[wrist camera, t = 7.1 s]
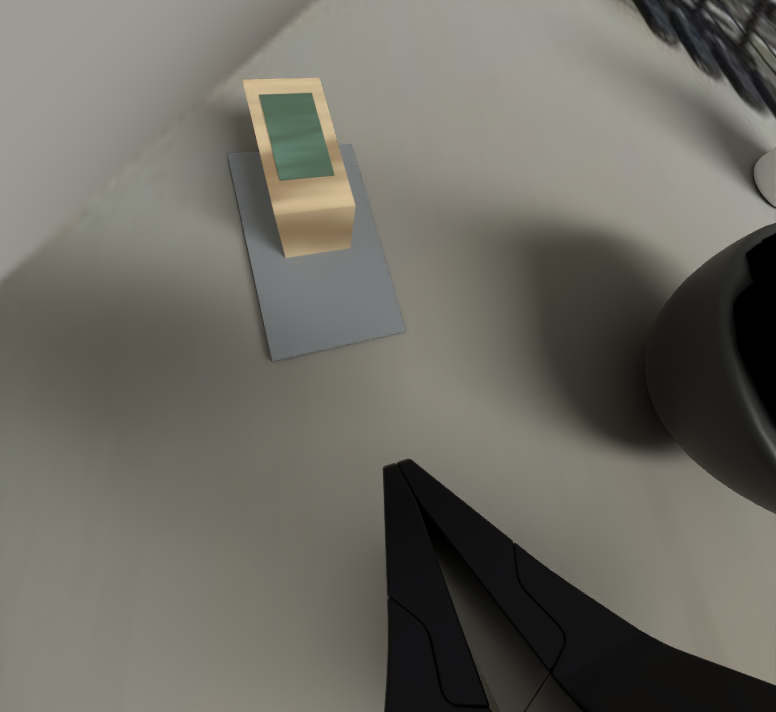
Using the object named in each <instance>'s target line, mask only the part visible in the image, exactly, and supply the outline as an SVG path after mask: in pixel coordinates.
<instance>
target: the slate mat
mask: <svg viewBox="0 0 776 712" xmlns="http://www.w3.org/2000/svg"><path fill="white" fill-rule="evenodd" d="M338 146H339V149H340V153H341V156H342V160H343V163H344V167H345V170H346V174H347V177H348V181H349V184H350V188H351V191H352V195H353V198H354V202H355V214H354V222H353V231H352V239H351V247H350V248H348V249H341V250H335V251H328V252H322V253H315V254H308V255H302V256H295V257H289V258H286V257H285V254H284V250H283V246H282V242H281V238H280V235H279V231H278V227H277V223H276V219H275V215H274V211H273V207H272V203H271V198H270V194H269V190H268V186H267V181H266V177H265V173H264V169H263V164H262V160H261V156H260V152H259V151H253V152H239V153H227V155H228V159H229V164H230V168H231V173H232V178H233V182H234V187H235V192H236V196H237V201H238V205H239V210H240V215H241V219H242V224H243V229H244V233H245V238H246V242H247V247H248V252H249V256H250V261H251V266H252V270H253V275H254V279H255V284H256V289H257V293H258V298H259V302H260V307H261V312H262V316H263V321H264V326H265V330H266V335H267V339H268V344H269V349H270V353H271V358H272V361H273V362H274V361H278V360H283V359H287V358H292V357H296V356H301V355H305V354H310V353H314V352H319V351H323V350H328V349H332V348H337V347H341V346H346V345H350V344H355V343H359V342H364V341H368V340H373V339H377V338H381V337H386V336H390V335H395V334H399V333H404V332H406V328H405V325H404V322H403V318H402V315H401V311H400V308H399V304H398V301H397V298H396V294H395V291H394V287H393V284H392V281H391V277H390V274H389V270H388V267H387V263H386V260H385V257H384V253H383V250H382V246H381V243H380V239H379V236H378V233H377V229H376V226H375V222H374V219H373V215H372V212H371V209H370V205H369V202H368V198H367V195H366V191H365V188H364V185H363V181H362V178H361V174H360V171H359V167H358V164H357V161H356V157H355V154H354V150H353V147H352V144H347V145H338Z"/></svg>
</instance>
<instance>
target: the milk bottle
mask: <svg viewBox="0 0 776 712" xmlns="http://www.w3.org/2000/svg"><path fill="white" fill-rule="evenodd" d="M754 178H755V182H756V185H757V187H758V189H759V190H760V192H761V193H762V195H763V196H764V197H765V198H766V199H767V201H769V202H770V203H771V204H772V205H773V206H775V207H776V148H774V149H773V150H771V151H770V152H768V153H767V154H765V155H763V156H762V157H761V158H760V159H759V160H758V161H757V162H756V164H755V166H754Z"/></svg>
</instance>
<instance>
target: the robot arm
mask: <svg viewBox="0 0 776 712" xmlns="http://www.w3.org/2000/svg"><path fill="white" fill-rule="evenodd" d="M383 490H384V519H385V549H386V578H387V598H388V599H387V613H388V656H387V677H386V693H385V707H384V712H492V711H491V709H489V703H488V700H487V697H486V694H485V691H484V689H483V686H482V683H481V680H480V677H479V674H478V672H477V669H476V666H475V663H474V660H473V658H472V655H471V652H472V654H473V656H474V658H475V660H476V662H477V664H478V667H479V669H480V671H481V673H482V675H483V677H484V679H485V681H486V683H487V685H488V687H489V689H490V691H491V693H492V695H493V698H494V700H495V702H496V704H497V706H498V708H499V710H500V712H776V685H773V684H771V683H768V682H765V681H763V680H760V679H757V678H754V677H752V676H749V675H746V674H744V673H741V672H738V671H735V670H733V669H730V668H727V667H724V666H722V665H719V664H716V663H714V662H711V661H708V660H705V659H703V658H700V657H697V656H695V655H692V654H689V653H686V652H684V651H681V650H678V649H676V648H674V647H671V646H669V645H667V644H665V643H663V642H661V641H659V640H657V639H655V638H653V637H651V636H649V635H648V634H646V633H644V632H642V631H641V630H639V629H637V628H636V627H634V626H633V625H631V624H630V623H628V622H627V621H625V620H624V619H622V618H621V617H619V616H618V615H616V614H615V613H613V612H612V611H610V610H609V609H607V608H606V607H604V606H603V605H601V604H600V603H598V602H597V601H595V600H594V599H592V598H591V597H589V596H588V595H586V594H585V593H583V592H582V591H580V590H579V589H577V588H576V587H574V586H573V585H571V584H570V583H568V582H567V581H566V580H564V579H563V578H561V577H560V576H558V575H557V574H555V573H554V572H553V571H551V570H550V569H548V568H547V567H546V566H544V565H543V564H542V563H540V562H539V561H538V560H537V559H535V558H534V557H533V556H531V555H530V554H529V553H527V552H526V551H525V550H524V549H523V548H521V547H520V546H519V545H518V544H516V543H513V541H512V540H511V539H510V538H509V537H507V536H506V535H505V534H504V533H502V532H501V531H500V530H499V529H497V528H496V527H495V526H494V525H492V524H491V523H490V522H489V521H487V520H486V519H485V518H484V517H482V516H481V515H480V514H479V513H477V512H476V511H475V510H474V509H472V508H471V507H470V506H469V505H467V504H466V503H465V502H464V501H462V500H461V499H460V498H459V497H457V496H456V495H455V494H454V493H452V492H451V491H450V490H449V489H447V488H446V487H445V486H444V485H442V484H441V483H440V482H439V481H437V480H436V479H435V478H434V477H432V476H431V475H430V474H429V473H427V472H426V471H425V470H424V469H422V468H421V467H420V466H419V465H418V464H416V463H415V462H414V461H413V460H411V459H405V460H402V461H399V462H397V464H396V463H393V464H390V465H387V466H384V467H383ZM469 648H470V649H469ZM470 650H471V652H470Z"/></svg>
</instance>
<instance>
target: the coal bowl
mask: <svg viewBox="0 0 776 712" xmlns="http://www.w3.org/2000/svg"><path fill="white" fill-rule="evenodd" d="M645 371H646V381H647V386H648V391H649V394H650V397H651V400H652V403H653V405H654V408H655V410H656V412H657V414H658V416H659V417H660V419H661V421H662V423H663V424H664V426H665V427H666V429H667V430H668V432H669V433H670V435H671V436H672V437H673V439H674V440H675V441H676V442H677V443H678V444H679V446H680V447H681V448H682V449H683V450H684V451H685V452H686V453H687V454H688V455H689V456H690V457H691V458H692V459H693V460H694V461H695V462H696V463H697V464H698V465H700V466H701V467H702V468H703V469H704V470H706V471H707V472H708V473H709V474H711V475H712V476H713V477H714V478H716V479H717V480H718V481H720V482H721V483H723V484H724V485H726V486H727V487H729V488H730V489H732V490H733V491H735V492H736V493H738V494H739V495H741V496H743V497H745V498H746V499H748V500H750V501H752V502H754V503H755V504H757V505H759V506H761V507H763V508H765V509H767V510H769V511H771V512H773V513H775V514H776V223H774V224H771V225H768V226H765V227H763V228H761V229H759V230H756V231H754V232H753V233H751V234H749V235H747V236H745V237H743V238H741V239H740V240H738V241H736V242H735V243H733V244H731V245H730V246H728V247H727V248H725V249H724V250H722V251H721V252H719V253H718V254H716V255H715V256H714V257H712V258H711V259H709V260H708V261H707V262H705V263H704V264H703V265H702V266H701V267H700V268H698V269H697V270H696V271H695V272H694V273H693V274H691V275H690V276H689V277H688V278H687V279H686V280H685V281H684V282H683V283H682V284H681V285H680V286H679V287H678V289H677V290H676V291H675V292H674V293H673V295H672V296H671V297H670V299H669V300H668V301H667V303H666V304H665V306H664V307H663V309H662V310H661V312H660V314H659V316H658V318H657V320H656V322H655V324H654V326H653V329H652V332H651V335H650V337H649V341H648V345H647V351H646V362H645Z"/></svg>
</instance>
